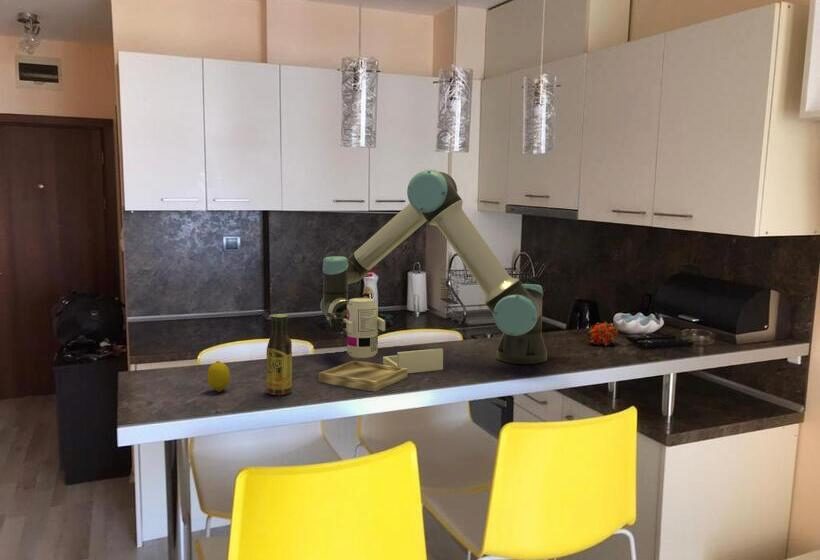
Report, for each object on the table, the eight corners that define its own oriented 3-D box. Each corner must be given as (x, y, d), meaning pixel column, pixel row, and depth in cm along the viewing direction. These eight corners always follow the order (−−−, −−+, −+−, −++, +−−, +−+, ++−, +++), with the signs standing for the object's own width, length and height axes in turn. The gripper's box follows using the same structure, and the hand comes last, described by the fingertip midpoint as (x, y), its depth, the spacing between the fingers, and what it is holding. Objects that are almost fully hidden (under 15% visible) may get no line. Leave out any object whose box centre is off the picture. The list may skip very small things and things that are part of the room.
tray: (407, 377, 181) (407, 368, 181) (374, 391, 167) (374, 382, 167) (353, 368, 190) (353, 360, 190) (318, 382, 176) (318, 372, 176)
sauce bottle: (261, 394, 166) (259, 315, 163) (279, 388, 171) (277, 312, 168) (280, 398, 162) (278, 318, 160) (298, 392, 167) (296, 314, 165)
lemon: (210, 389, 170) (209, 358, 169) (232, 388, 170) (231, 358, 169) (205, 395, 165) (204, 363, 164) (228, 394, 165) (226, 363, 164)
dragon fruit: (620, 348, 223) (589, 356, 219) (607, 330, 228) (577, 337, 225) (628, 331, 217) (596, 339, 213) (614, 313, 222) (583, 320, 219)
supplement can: (342, 357, 175) (342, 301, 173) (352, 350, 183) (352, 296, 181) (372, 359, 173) (372, 302, 171) (381, 352, 181) (381, 298, 179)
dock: (424, 359, 201) (424, 339, 201) (442, 369, 189) (443, 349, 188) (382, 363, 197) (382, 343, 196) (398, 374, 184) (398, 353, 183)
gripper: (378, 323, 198) (405, 338, 177) (308, 327, 190) (328, 344, 169) (378, 298, 197) (405, 310, 176) (308, 302, 189) (328, 315, 168)
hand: (367, 326), depth 173 cm, fingers closed on supplement can, 8 cm apart
